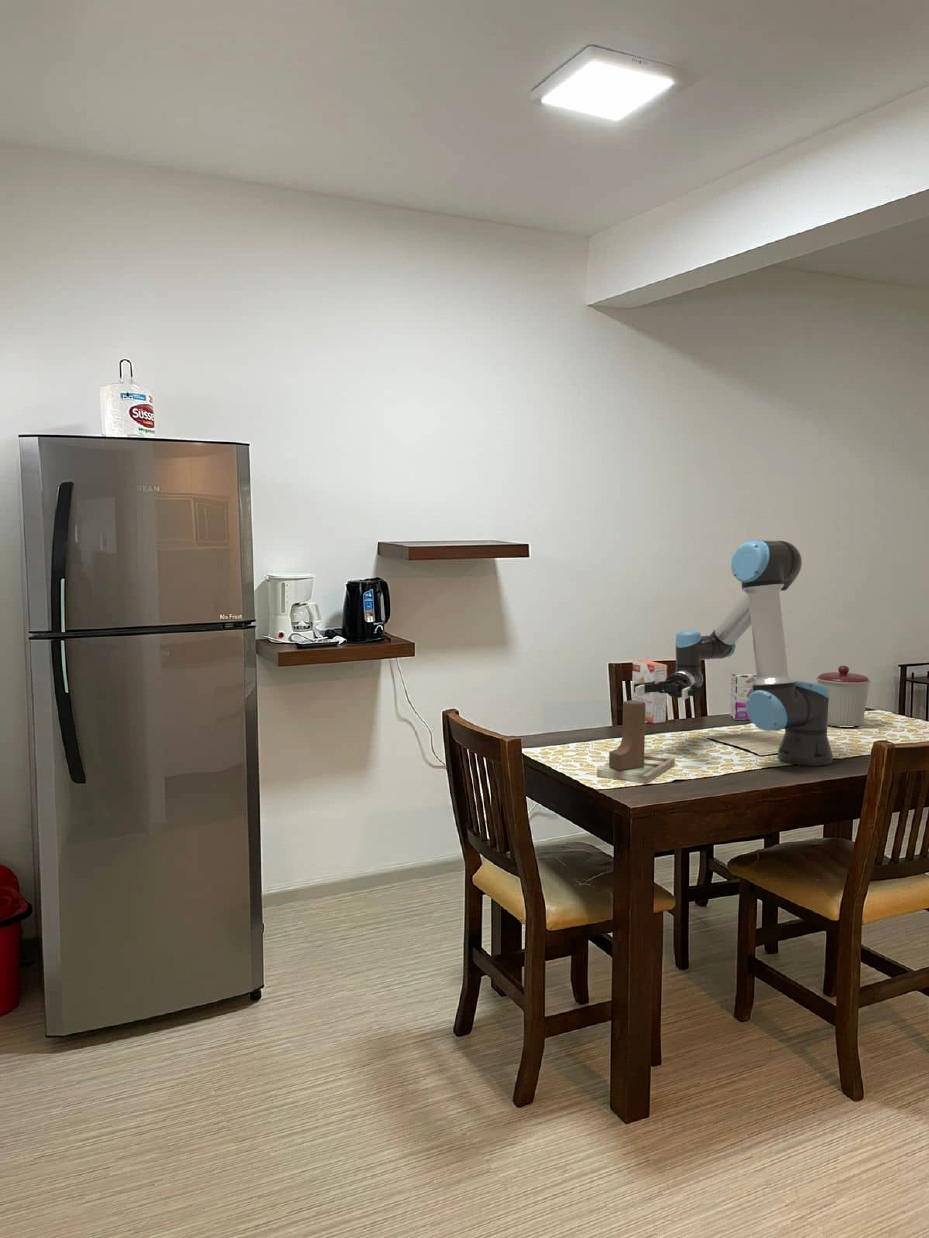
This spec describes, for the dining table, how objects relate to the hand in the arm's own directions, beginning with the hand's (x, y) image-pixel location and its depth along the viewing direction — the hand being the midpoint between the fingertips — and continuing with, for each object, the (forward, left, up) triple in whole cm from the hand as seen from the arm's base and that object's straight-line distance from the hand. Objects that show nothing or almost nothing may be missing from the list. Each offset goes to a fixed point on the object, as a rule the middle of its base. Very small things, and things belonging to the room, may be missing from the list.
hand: (659, 693), depth 270 cm
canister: (-36, -89, -21) cm, 98 cm away
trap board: (+3, +10, -21) cm, 23 cm away
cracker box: (+25, -63, -21) cm, 70 cm away
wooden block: (+3, +17, -18) cm, 26 cm away
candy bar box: (-5, -83, -21) cm, 85 cm away
